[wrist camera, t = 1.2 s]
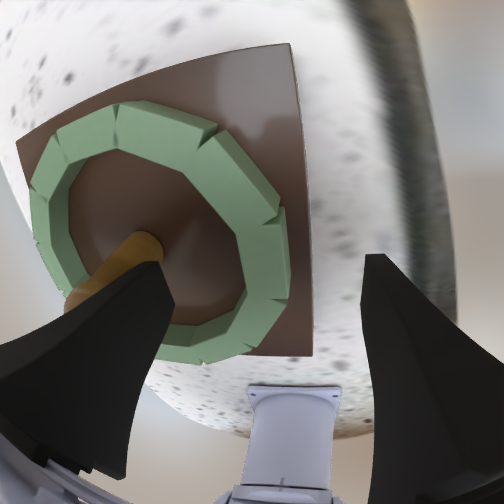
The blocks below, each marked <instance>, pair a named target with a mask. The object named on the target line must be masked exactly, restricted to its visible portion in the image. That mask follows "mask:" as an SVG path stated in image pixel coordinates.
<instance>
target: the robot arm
mask: <svg viewBox="0 0 504 504" xmlns="http://www.w3.org/2000/svg"><path fill="white" fill-rule="evenodd" d="M174 308H175V302H174V299H173V297H172V294H171V292H170V289H169V287H168V284H167V282H166V279H165V277H164V274H163V271H162V269H161V266H160V264H159V261H144V262H142V263H140V264H138V265H136V266H135V267H133V268H131V269H130V270H128V271H127V272H125V273H124V274H122V275H121V276H119V277H118V278H116V279H115V280H114V281H112V282H111V283H109V284H108V285H106V286H105V287H104V288H102V289H101V290H99V291H98V292H97V293H95V294H94V295H92V296H91V297H89V298H88V299H86V300H85V301H83V302H82V303H80V304H79V305H78V306H76V307H75V308H73V309H72V310H70V311H68V312H67V313H65V314H64V315H62V316H60V317H59V318H57V319H55V320H53V321H52V322H50V323H48V324H46V325H44V326H43V327H41V328H38V329H36V330H35V331H32V332H31V333H29V334H26V335H24V336H22V337H20V338H17V339H15V340H13V341H10V342H7V343H4V344H2V345H0V504H86V503H84V502H81V501H79V500H78V497H79V498H80V499H82V500H84V501H85V502H87V503H89V504H132V503H130V502H128V501H126V500H123V499H121V498H119V497H117V496H115V495H113V494H111V493H109V492H107V491H105V490H103V489H101V488H99V487H97V486H95V485H94V484H92V483H90V482H88V481H86V480H85V479H83V478H81V477H80V476H78V474H79V472H80V470H83V471H85V472H86V473H88V474H90V473H91V472H92V469H93V468H94V469H95V470H97V471H99V472H101V473H103V474H106V475H108V476H110V477H112V478H114V479H116V480H121V479H124V478H125V477H126V463H127V451H128V444H129V438H130V432H131V427H132V422H133V418H134V414H135V410H136V406H137V402H138V399H139V395H140V392H141V389H142V386H143V383H144V381H145V378H146V376H147V374H148V371H149V369H150V367H151V365H152V363H153V360H154V358H155V356H156V354H157V352H158V350H159V348H160V345H161V343H162V341H163V339H164V337H165V334H166V332H167V330H168V328H169V324H170V321H171V318H172V315H173V311H174ZM360 308H361V319H362V330H363V336H364V341H365V347H366V352H367V358H368V363H369V369H370V375H371V381H372V387H373V396H374V455H373V467H372V478H371V486H370V492H369V498H368V504H504V364H503V363H502V362H500V361H499V360H497V359H496V358H495V357H494V356H493V355H491V354H490V353H488V352H487V351H486V350H484V349H483V348H482V347H481V346H479V345H478V344H477V343H476V342H474V341H473V340H472V339H470V337H469V336H467V335H466V334H465V333H464V332H463V331H462V330H460V329H459V328H458V327H457V326H456V325H455V324H453V323H452V322H451V321H450V320H449V319H448V318H447V317H446V316H445V315H444V314H443V313H442V312H441V311H440V310H439V309H438V308H437V307H436V306H434V305H433V304H432V303H431V302H430V301H429V300H428V299H427V298H426V297H425V296H424V295H423V293H422V292H421V291H420V290H419V289H418V288H417V287H416V286H415V285H414V284H413V283H412V282H411V281H410V280H409V279H408V278H407V277H406V276H405V275H404V274H403V272H402V271H401V270H400V269H399V268H398V267H397V266H396V265H395V264H394V263H393V262H392V261H391V260H390V259H389V258H388V257H387V256H386V255H385V254H366V255H365V267H364V277H363V286H362V294H361V302H360ZM247 393H248V396H249V399H250V402H251V405H252V408H253V411H254V413H255V416H254V421H253V426H252V431H251V436H250V441H249V446H248V450H247V455H246V460H245V464H244V470H243V474H242V478H241V483H240V485H234V487H233V491H226V492H225V493H224V494H222V495H221V496H219V497H218V498H217V499H216V501H215V502H214V504H345V503H344V502H343V501H342V500H340V498H339V497H332V491H331V490H329V488H330V476H331V461H332V444H333V427H334V423H335V419H336V415H337V411H338V407H339V403H340V399H341V394H342V389H341V388H340V387H314V388H301V387H267V386H248V387H247Z"/></svg>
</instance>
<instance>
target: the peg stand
mask: <svg viewBox="0 0 504 504" xmlns="http://www.w3.org/2000/svg"><path fill="white" fill-rule="evenodd" d="M140 100H146V101H149V102H153V103H156V104H160V105H163V106H167V107H170V108H173V109H177V110H180V111H183V112H186V113H189V114H192V115H195V116H198V117H201V118H204V119H207V120H210V121H213V122H215V123H218V127H217V129H216V132H215V135H216V134H218V133H220V132H222V131H224V130H227V131H228V132H229V133H230V134H231V136H232V137H233V138H234V139H235V140H236V142H237V143H238V144H239V145H240V146H241V148H242V149H243V150H244V151H245V153H246V154H247V155H248V156H249V157H250V159H251V160H252V161H253V162H254V164H255V165H256V166H257V167H258V169H259V170H260V171H261V172H262V174H263V175H264V176H265V178H266V179H267V180H268V181H269V183H270V184H271V185H272V186H273V188H274V189H275V190H276V192H277V193H278V194H279V196H280V203H279V206H284V208H285V216H286V226H287V236H288V246H289V257H290V268H291V279H290V289H289V297H288V298H287V306H286V307H285V309H284V310H283V311H282V313H281V314H280V316H279V317H278V319H277V320H276V321H275V323H274V324H273V326H272V327H271V328H270V330H269V331H268V333H267V334H266V335H265V337H264V338H263V340H262V341H261V342H260V344H259V345H258V346H257V347H252V350H251V351H249V352H246V353H243V354H240V355H253V356H287V357H312V356H313V263H312V238H311V219H310V203H309V189H308V177H307V165H306V154H305V144H304V135H303V126H302V117H301V109H300V101H299V93H298V86H297V79H296V72H295V66H294V59H293V53H292V49H291V45H290V43H283V44H274V45H266V46H258V47H252V48H245V49H240V50H234V51H229V52H224V53H219V54H215V55H210V56H206V57H202V58H198V59H194V60H190V61H187V62H183V63H179V64H176V65H173V66H169V67H166V68H163V69H160V70H157V71H154V72H151V73H148V74H145V75H143V76H140V77H137V78H135V79H132V80H130V81H127V82H124V83H122V84H120V85H117V86H115V87H113V88H110V89H108V90H106V91H103V92H101V93H99V94H97V95H95V96H93V97H91V98H89V99H87V100H85V101H83V102H81V103H79V104H77V105H75V106H73V107H71V108H69V109H67V110H65V111H64V112H62V113H60V114H58V115H57V116H55V117H53V118H51V119H50V120H48V121H46V122H45V123H43V124H42V125H40V126H38V127H37V128H35V129H34V130H32V131H31V132H29V133H28V134H26V135H25V136H23V137H22V138H20V139H19V140H17V141H16V146H17V150H18V154H19V158H20V162H21V165H22V169H23V172H24V175H25V178H26V182H27V185H28V188H30V187H32V184H31V183H30V182H31V179H32V177H33V175H34V172H35V170H36V168H37V165H38V163H39V161H40V159H41V157H42V154H43V152H44V150H45V148H46V146H47V144H48V142H49V140H50V138H51V136H52V135H54V134H57V130H58V129H60V128H62V127H64V126H66V125H68V124H70V123H72V122H74V121H76V120H78V119H80V118H82V117H84V116H86V115H88V114H91V113H93V112H95V111H97V110H100V109H102V108H105V107H107V106H109V105H112V104H117V103H122V102H128V101H140ZM68 223H69V234H70V236H71V239H72V241H73V243H74V246H75V248H76V250H77V252H78V254H79V257H80V259H81V261H82V263H83V265H84V267H85V269H86V271H87V273H88V274H89V275H90V276H91V277H90V278H89V279H88V280H87V281H86V282H84V283H81V284H79V285H78V286H76V287H75V288H74V289H73V290H72V291H71V292H70V293H69V295H68V297H67V298H66V302H65V305H64V314H65V313H67V312H68V311H70V310H72V309H73V308H75V307H76V306H78V305H79V304H80V303H82V302H83V301H85V300H86V299H88V298H89V297H91V296H92V295H94V294H95V293H97V292H98V291H99V290H101V289H102V288H104V287H105V286H106V285H108V284H109V283H111V282H112V281H114V280H115V279H116V278H118V277H119V276H121V275H122V274H124V273H125V272H127V271H128V270H130V269H131V268H133V267H135V266H136V265H138V264H140V263H142V262H144V261H159V264H160V266H161V269H162V271H163V274H164V277H165V279H166V282H167V284H168V287H169V289H170V292H171V294H172V297H173V299H174V302H175V308H174V311H173V315H172V318H171V321H170V324H180V325H194V326H199V325H202V324H204V323H206V322H208V321H211V320H213V319H215V318H217V317H219V316H222V315H224V314H226V313H228V312H230V311H233V310H234V308H235V306H236V304H237V302H238V300H239V299H240V297H241V295H242V293H243V291H244V289H245V287H246V284H245V279H244V274H243V269H242V264H241V259H240V254H239V249H238V244H237V239H236V234H235V233H234V232H233V230H232V229H231V228H230V227H229V226H228V225H227V223H226V222H225V221H224V220H223V219H222V218H221V216H220V215H219V214H218V213H217V212H216V211H215V209H214V208H213V207H212V206H211V205H210V204H209V203H208V201H207V200H206V199H205V198H204V197H203V196H202V194H201V193H200V192H199V191H198V190H197V189H196V187H195V186H194V185H193V184H192V183H191V182H190V180H189V179H188V178H187V177H186V176H185V175H184V174H183V173H182V172H180V171H177V170H174V169H172V168H169V167H167V166H164V165H161V164H159V163H156V162H153V161H151V160H148V159H145V158H143V157H140V156H137V155H134V154H132V153H129V152H126V151H123V150H120V149H118V148H116V149H113V150H109V151H106V152H103V153H100V154H97V155H94V156H91V157H89V158H88V159H87V161H86V162H85V164H84V165H83V167H82V168H81V170H80V172H79V173H78V175H77V176H76V178H75V180H74V181H73V183H72V184H71V186H70V188H69V199H68Z"/></svg>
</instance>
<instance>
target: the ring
mask: <svg viewBox="0 0 504 504" xmlns="http://www.w3.org/2000/svg"><path fill="white" fill-rule="evenodd" d="M217 127H218V123H215V122H213V121H210V120H207V119H204V118H201V117H198V116H195V115H192V114H189V113H186V112H183V111H180V110H177V109H173V108H170V107H167V106H163V105H160V104H156V103H153V102H149V101H146V100H140V101H128V102H122V103H117V104H112V105H109V106H107V107H105V108H102V109H100V110H97V111H95V112H93V113H91V114H88V115H86V116H84V117H82V118H80V119H78V120H76V121H74V122H72V123H70V124H68V125H66V126H64V127H62V128H60V129H58V130H57V134H54V135H52V136H51V138H50V140H49V142H48V144H47V146H46V148H45V150H44V152H43V154H42V157H41V159H40V161H39V163H38V165H37V168H36V170H35V172H34V175H33V177H32V179H31V182H30V183H31V184H32V187H30V188H29V193H30V209H31V220H32V230H33V238H34V239H35V240H36V241H38V242H37V243H36V247H37V249H38V251H39V253H40V255H41V257H42V259H43V261H44V263H45V265H46V267H47V269H48V271H49V273H50V275H51V277H52V279H53V281H54V282H55V284H56V286H57V288H58V290H64V292H63V296H64V297H65V298H67V297H68V295H69V293H70V292H71V291H72V290H73V289H74V288H75V287H76V286H78V285H79V284H81V283H84V282H86V281H87V280H88V279H89V278H90V277H91V276H90V275H89V274H88V273H87V271H86V269H85V267H84V265H83V263H82V261H81V259H80V257H79V254H78V252H77V250H76V248H75V246H74V243H73V241H72V239H71V236H70V234H69V223H68V199H69V188H70V186H71V184H72V183H73V181H74V180H75V178H76V176H77V175H78V173H79V172H80V170H81V168H82V167H83V165H84V164H85V162H86V161H87V159H88V158H89V157H91V156H94V155H97V154H100V153H103V152H106V151H109V150H113V149H116V148H118V149H120V150H123V151H126V152H129V153H132V154H134V155H137V156H140V157H143V158H145V159H148V160H151V161H153V162H156V163H159V164H161V165H164V166H167V167H169V168H172V169H174V170H177V171H180V172H182V173H183V174H184V175H185V176H186V177H187V178H188V179H189V180H190V182H191V183H192V184H193V185H194V186H195V187H196V189H197V190H198V191H199V192H200V193H201V194H202V196H203V197H204V198H205V199H206V200H207V201H208V203H209V204H210V205H211V206H212V207H213V208H214V209H215V211H216V212H217V213H218V214H219V215H220V216H221V218H222V219H223V220H224V221H225V222H226V223H227V225H228V226H229V227H230V228H231V229H232V230H233V232H234V233H235V234H236V239H237V244H238V249H239V254H240V259H241V264H242V269H243V274H244V279H245V284H246V287H245V289H244V291H243V293H242V295H241V297H240V299H239V300H238V302H237V304H236V306H235V308H234V310H233V311H230V312H228V313H226V314H224V315H222V316H219V317H217V318H215V319H213V320H211V321H208V322H206V323H204V324H202V325H199V326H194V325H180V324H169V328H168V330H167V332H166V334H165V337H164V339H163V341H162V343H161V345H160V348H159V350H158V352H157V354H156V356H155V358H154V359H159V360H165V361H172V362H179V363H186V364H195V365H202V363H203V362H204V363H205V364H211V363H214V362H218V361H221V360H224V359H227V358H230V357H233V356H237V355H240V354H243V353H246V352H249V351H251V350H252V347H257V346H258V345H259V344H260V342H261V341H262V340H263V338H264V337H265V335H266V334H267V333H268V331H269V330H270V328H271V327H272V326H273V324H274V323H275V321H276V320H277V319H278V317H279V316H280V314H281V313H282V311H283V310H284V309H285V307H286V306H287V298H288V297H289V289H290V279H291V268H290V257H289V246H288V236H287V226H286V216H285V208H284V206H279V203H280V196H279V194H278V193H277V192H276V190H275V189H274V188H273V186H272V185H271V184H270V183H269V181H268V180H267V179H266V178H265V176H264V175H263V174H262V172H261V171H260V170H259V169H258V167H257V166H256V165H255V164H254V162H253V161H252V160H251V159H250V157H249V156H248V155H247V154H246V153H245V151H244V150H243V149H242V148H241V146H240V145H239V144H238V143H237V142H236V140H235V139H234V138H233V137H232V136H231V134H230V133H229V132H228V131H227V130H224V131H222V132H220V133H218V134H216V135H215V132H216V129H217Z"/></svg>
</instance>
